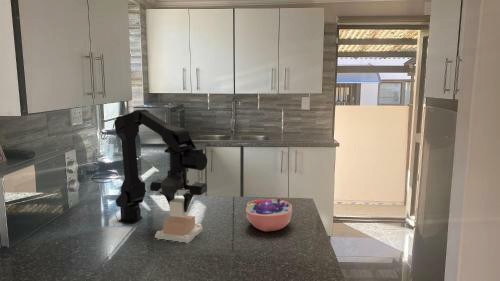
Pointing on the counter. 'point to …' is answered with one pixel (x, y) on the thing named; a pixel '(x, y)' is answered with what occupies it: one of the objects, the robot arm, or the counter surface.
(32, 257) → the counter surface
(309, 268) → the counter surface
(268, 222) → the cell model
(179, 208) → the cream brick
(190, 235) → the base plate
